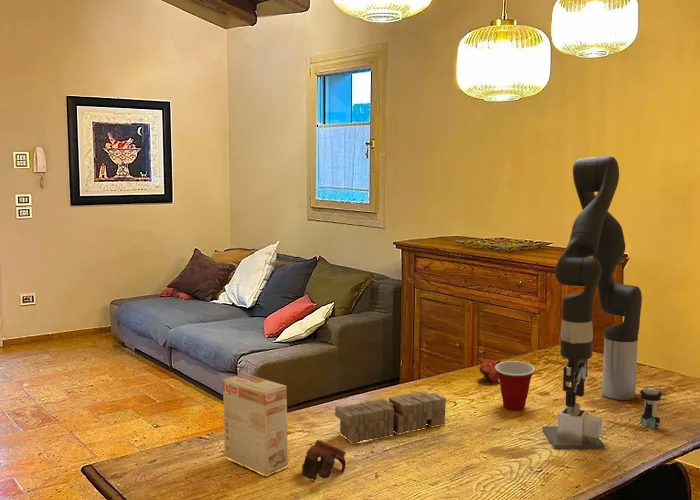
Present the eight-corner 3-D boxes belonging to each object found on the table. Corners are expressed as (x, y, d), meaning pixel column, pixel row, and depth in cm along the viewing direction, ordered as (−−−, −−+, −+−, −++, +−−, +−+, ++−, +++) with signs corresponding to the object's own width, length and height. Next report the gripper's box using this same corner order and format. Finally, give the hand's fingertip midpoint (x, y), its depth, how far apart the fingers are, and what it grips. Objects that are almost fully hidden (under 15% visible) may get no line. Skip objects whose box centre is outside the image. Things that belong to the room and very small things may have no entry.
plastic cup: (490, 411, 200) (491, 369, 199) (498, 399, 210) (499, 359, 209) (530, 416, 196) (531, 373, 195) (536, 403, 206) (537, 363, 205)
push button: (668, 429, 186) (670, 392, 185) (652, 432, 184) (654, 394, 183) (650, 420, 192) (651, 384, 191) (634, 423, 190) (635, 386, 189)
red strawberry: (488, 393, 223) (512, 372, 224) (473, 375, 222) (498, 354, 223) (480, 388, 230) (504, 368, 231) (466, 370, 229) (490, 350, 230)
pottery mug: (294, 470, 164) (309, 435, 166) (331, 485, 166) (345, 450, 167) (304, 479, 152) (319, 441, 154) (344, 495, 154) (359, 458, 156)
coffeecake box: (289, 468, 164) (287, 385, 161) (265, 478, 159) (263, 392, 156) (247, 450, 174) (245, 372, 171) (223, 459, 169) (221, 378, 166)
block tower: (428, 420, 197) (333, 436, 183) (429, 390, 196) (334, 404, 182) (445, 429, 190) (348, 446, 176) (446, 398, 189) (349, 413, 175)
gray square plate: (542, 430, 186) (543, 396, 185) (589, 430, 186) (590, 396, 185) (554, 448, 174) (555, 412, 173) (604, 448, 174) (605, 412, 173)
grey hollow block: (557, 436, 179) (557, 413, 178) (563, 429, 184) (564, 406, 183) (597, 444, 174) (598, 420, 173) (602, 436, 179) (603, 412, 178)
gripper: (568, 329, 185) (567, 390, 187) (553, 342, 173) (551, 407, 175) (598, 332, 181) (597, 395, 183) (585, 346, 169) (583, 412, 171)
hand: (574, 401), depth 179 cm, fingers open, 8 cm apart
